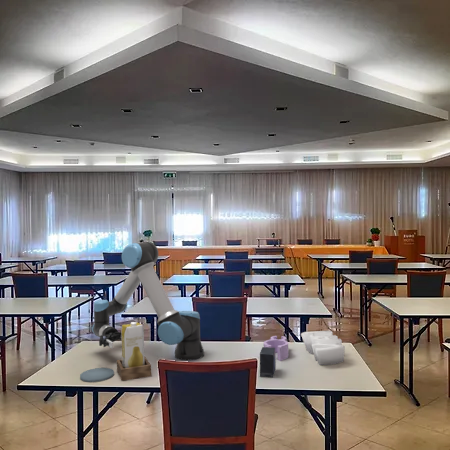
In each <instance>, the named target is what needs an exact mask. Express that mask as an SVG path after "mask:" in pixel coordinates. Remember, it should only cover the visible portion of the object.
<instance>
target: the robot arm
mask: <svg viewBox="0 0 450 450" xmlns="http://www.w3.org/2000/svg"><path fill="white" fill-rule="evenodd" d="M158 259H159V250H158V247H157V245H155V244H154V243H152V242H151V241H144V242H132V243H130V244H128V245H126V246H125V247H124V248H123V249H122V253H121V261H122V263H123V265H124V266H125V267H126V268H129V269H131V271H130V272H129V274H128V276H127V277H126V278H125V280H124V282H123V283H122V285H121V287H120V288H119V290H118V292H117V293H116V295H115V296H114V297H113V299H112V300H111V301H110V300H109V301H108V300H107V299H100V300H95V301H94V303H93V317H94V318H93V320H94V321H93V322H94V323H93V325H92V327H91V331H92V333H93V334H94V335H95V337H97V338H99V339H98V340H99V341H98V342H99V346H100V347H101V346H103V348H106V347H108V348H110V349H114V342H117V341H122V340H121V332H119V331H118V330H117V329H116V327H113V326H111V325H110V317H111V316H113V315H114V316H115V315H118V314H121V313H123V312H125V311H126V310H127V309H128V302H129V301H130V299H131V297H132V296H133V294H134V293H135V291H136V290H137V288H138V287H139V286H140V284H141V286H142V287H143V289H144V291H145V293H146V295H147V297H148V299H149V302H150V303H151V305H152V307H153V309H154V312H155V314H156V315H157V317H158V319H157V325H158V328H157V335H158V338H159V339H160V341H161V342H162V343H163V344H165V345H168V346H173V345H176V346H175V350H174V358H175V359H177V360H181V361H195V360H199V359H201V358H203V357H204V356H205V351H204V347H203V345H202V342H201V321H200V320H201V317H200V313H199V312H198V311H194V310H180V311H179V310H177V309H175V308H174V306H173V305H172V304H173V303H172V302H171V300H170V298H169V297H168V295H167V292H166V290H165V289H164V286H163V285H162V282H161V281H160V278H159V277H158V274H157V273H156V270H155V268H154V266H155V264H156V263H157V261H158Z"/></svg>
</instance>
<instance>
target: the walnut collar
mask: <svg viewBox="0 0 450 450" xmlns="http://www.w3.org/2000/svg"><path fill="white" fill-rule="evenodd" d="M144 358H145V365H143V366H137V367H130V368H123V366H122V358H120V359H116V372H117V374H118V376H119V379H120V381H121V382H124V381H128V380H135V379H140V378H141V379H142V378H148V377H152V364H151V363H150V362H149V360H148V359H147V357H146V356H145V355H144Z"/></svg>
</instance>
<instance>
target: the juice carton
mask: <svg viewBox="0 0 450 450" xmlns="http://www.w3.org/2000/svg"><path fill="white" fill-rule="evenodd" d="M144 332H145V331H144V325H143V324H141V323H140V322H137V321H132V322H130V323H129V324H122V325H121V337H120V338H121V340H120V341H121V359H122V366H123V368H130V367H137V366H143V365H145V358H144V356H145V336H144V335H145V333H144Z"/></svg>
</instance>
